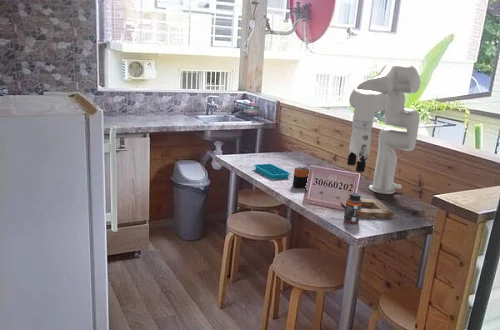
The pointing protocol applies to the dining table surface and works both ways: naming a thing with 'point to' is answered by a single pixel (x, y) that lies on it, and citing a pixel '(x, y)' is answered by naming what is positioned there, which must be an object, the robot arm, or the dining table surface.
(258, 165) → the ice cube tray
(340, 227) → the dining table surface
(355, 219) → the supplement bottle
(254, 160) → the dining table surface
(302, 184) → the battery
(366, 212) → the wooden frame
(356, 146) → the robot arm
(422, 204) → the dining table surface
